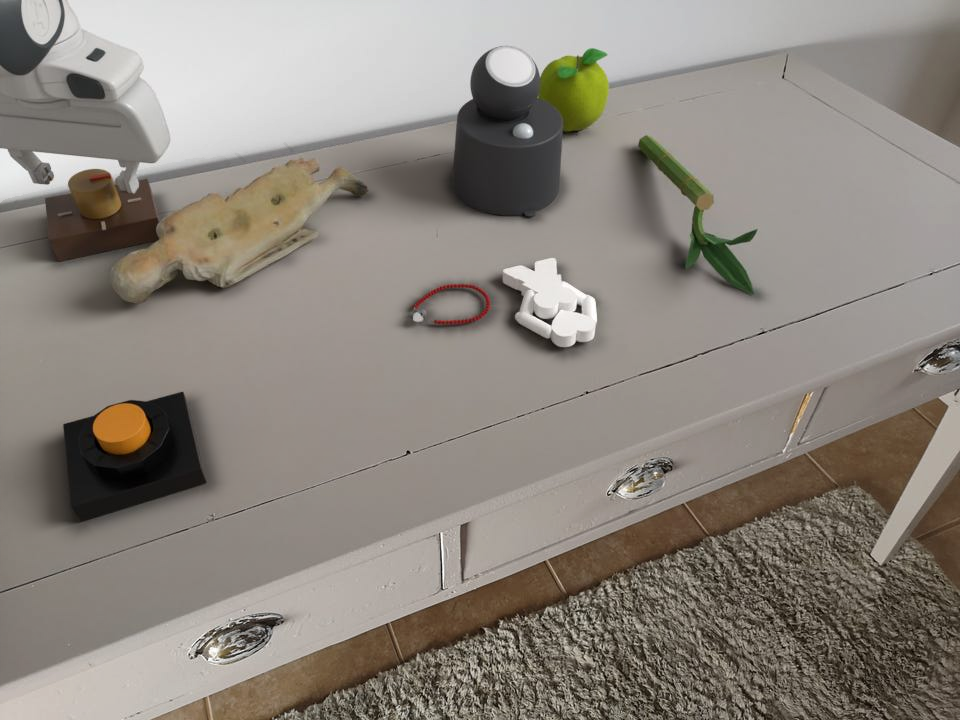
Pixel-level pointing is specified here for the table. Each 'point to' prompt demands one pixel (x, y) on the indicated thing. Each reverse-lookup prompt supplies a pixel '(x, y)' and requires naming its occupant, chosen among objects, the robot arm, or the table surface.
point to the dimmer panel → (101, 224)
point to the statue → (232, 231)
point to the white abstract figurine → (552, 304)
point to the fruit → (576, 88)
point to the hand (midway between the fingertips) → (87, 185)
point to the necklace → (420, 314)
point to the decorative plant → (700, 218)
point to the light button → (122, 429)
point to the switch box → (133, 461)
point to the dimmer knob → (94, 193)
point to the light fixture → (507, 138)
